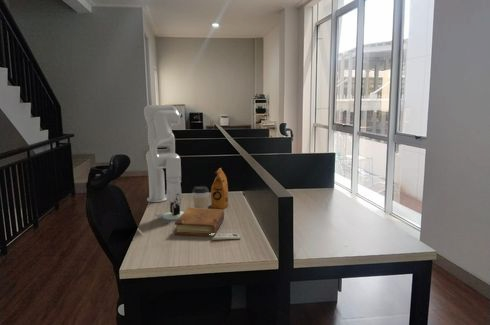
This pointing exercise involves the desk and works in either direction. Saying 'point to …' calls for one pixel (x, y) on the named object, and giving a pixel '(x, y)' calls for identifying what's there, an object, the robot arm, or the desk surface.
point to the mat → (164, 219)
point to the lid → (172, 215)
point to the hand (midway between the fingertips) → (175, 213)
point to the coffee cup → (200, 197)
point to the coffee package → (219, 191)
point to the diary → (199, 221)
